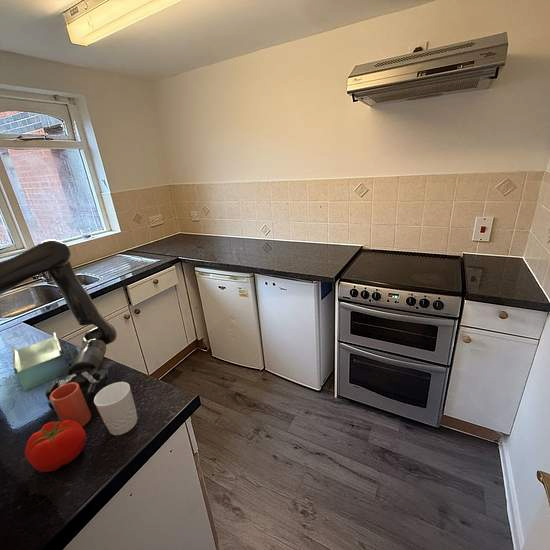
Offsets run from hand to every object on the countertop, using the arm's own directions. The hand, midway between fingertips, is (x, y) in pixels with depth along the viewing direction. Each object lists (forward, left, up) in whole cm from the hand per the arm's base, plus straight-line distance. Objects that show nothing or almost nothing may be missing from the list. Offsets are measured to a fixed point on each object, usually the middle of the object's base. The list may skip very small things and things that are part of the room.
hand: (71, 401), depth 76 cm
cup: (0, -1, -6) cm, 6 cm away
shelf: (-18, +29, -6) cm, 35 cm away
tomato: (0, -12, -6) cm, 13 cm away
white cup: (+12, -7, -6) cm, 15 cm away
